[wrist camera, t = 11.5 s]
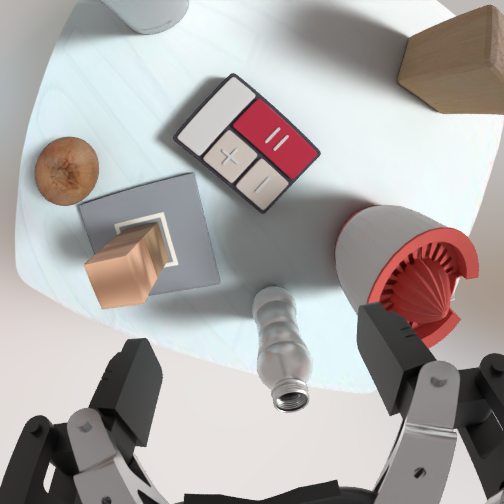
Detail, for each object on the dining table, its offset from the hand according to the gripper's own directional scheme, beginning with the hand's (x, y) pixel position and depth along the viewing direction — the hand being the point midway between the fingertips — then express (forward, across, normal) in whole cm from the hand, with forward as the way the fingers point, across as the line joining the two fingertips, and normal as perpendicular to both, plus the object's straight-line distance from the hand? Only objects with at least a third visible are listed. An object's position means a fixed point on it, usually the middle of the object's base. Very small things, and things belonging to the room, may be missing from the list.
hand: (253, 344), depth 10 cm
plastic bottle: (+30, -2, +17) cm, 34 cm away
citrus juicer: (+30, -18, +10) cm, 37 cm away
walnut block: (+28, +15, +4) cm, 32 cm away
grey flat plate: (+30, +15, +4) cm, 33 cm away
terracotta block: (+22, +15, +4) cm, 27 cm away
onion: (+30, +22, -9) cm, 39 cm away
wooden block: (+30, -31, -16) cm, 46 cm away
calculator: (+30, -2, -7) cm, 31 cm away
